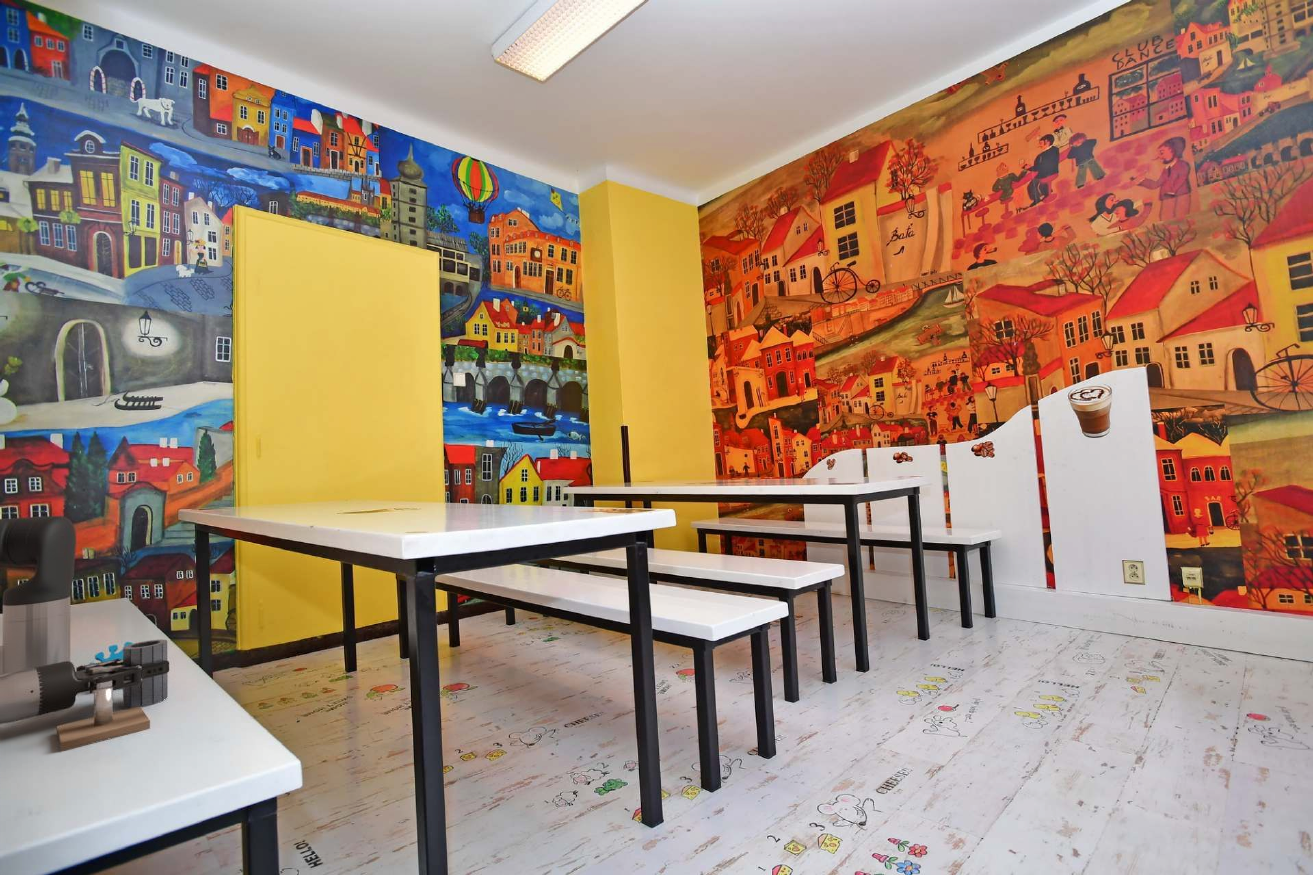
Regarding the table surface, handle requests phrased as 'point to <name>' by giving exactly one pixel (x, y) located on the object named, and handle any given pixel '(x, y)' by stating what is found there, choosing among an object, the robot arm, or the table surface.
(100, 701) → the shaft
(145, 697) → the sleeve
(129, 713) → the base plate
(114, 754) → the table surface
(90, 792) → the table surface
